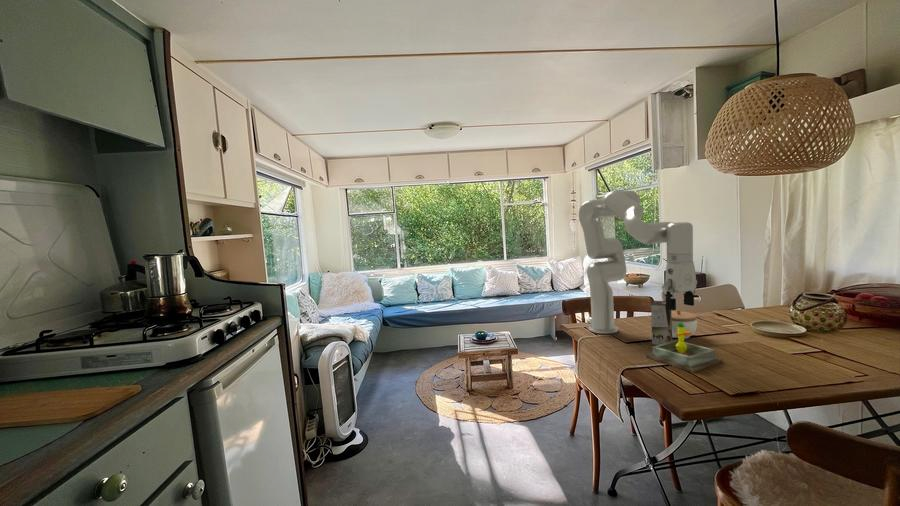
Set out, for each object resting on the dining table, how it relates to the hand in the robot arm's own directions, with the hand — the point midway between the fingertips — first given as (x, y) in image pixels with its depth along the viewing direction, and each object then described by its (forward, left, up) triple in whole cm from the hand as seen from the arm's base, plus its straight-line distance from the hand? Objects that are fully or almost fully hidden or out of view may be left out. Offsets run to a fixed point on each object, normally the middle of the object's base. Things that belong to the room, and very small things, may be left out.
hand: (679, 307), depth 121 cm
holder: (+1, 0, -19) cm, 18 cm away
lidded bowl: (-15, +23, -19) cm, 33 cm away
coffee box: (-14, +11, -19) cm, 26 cm away
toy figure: (0, 0, -18) cm, 18 cm away
